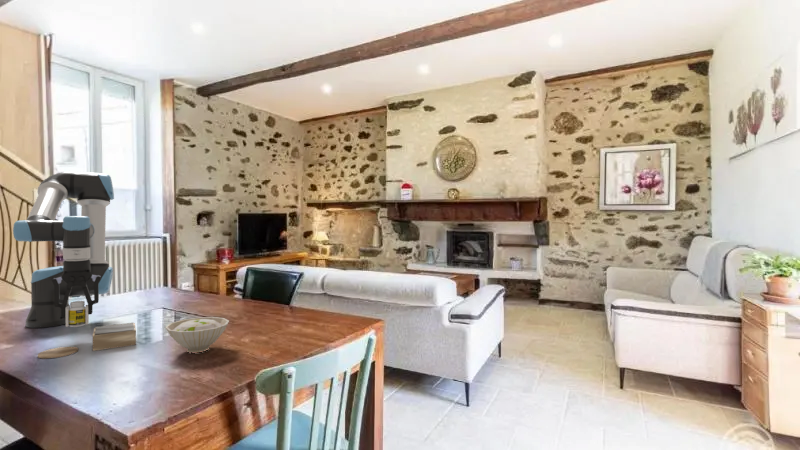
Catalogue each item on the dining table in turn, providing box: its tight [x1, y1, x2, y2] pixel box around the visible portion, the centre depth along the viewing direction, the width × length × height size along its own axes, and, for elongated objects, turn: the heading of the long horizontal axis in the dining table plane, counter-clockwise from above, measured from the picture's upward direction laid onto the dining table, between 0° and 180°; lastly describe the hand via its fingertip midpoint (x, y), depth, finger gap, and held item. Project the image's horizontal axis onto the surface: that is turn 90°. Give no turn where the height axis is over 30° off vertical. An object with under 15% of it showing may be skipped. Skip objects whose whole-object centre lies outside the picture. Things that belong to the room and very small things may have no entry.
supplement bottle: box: [68, 300, 87, 328], centre depth 143 cm, size 5×5×8 cm
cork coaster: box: [37, 346, 79, 360], centre depth 130 cm, size 10×10×1 cm
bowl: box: [165, 316, 230, 352], centre depth 135 cm, size 19×19×10 cm
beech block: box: [92, 322, 137, 352], centre depth 141 cm, size 12×12×5 cm
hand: (77, 324), depth 143 cm, fingers closed on supplement bottle, 5 cm apart
